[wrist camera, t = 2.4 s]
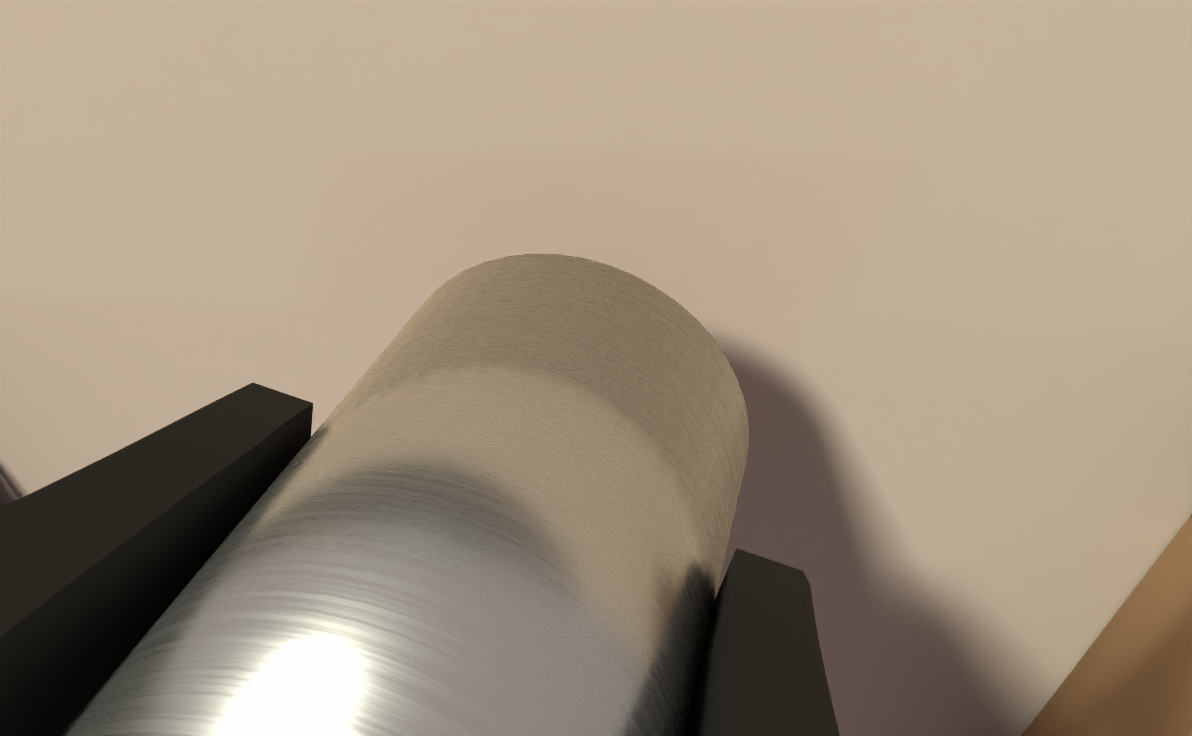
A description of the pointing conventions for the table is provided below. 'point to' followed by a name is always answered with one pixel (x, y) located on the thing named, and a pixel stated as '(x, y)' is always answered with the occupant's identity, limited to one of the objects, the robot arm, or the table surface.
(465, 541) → the brushed metal cylinder
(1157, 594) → the jig
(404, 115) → the table surface
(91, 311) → the table surface
